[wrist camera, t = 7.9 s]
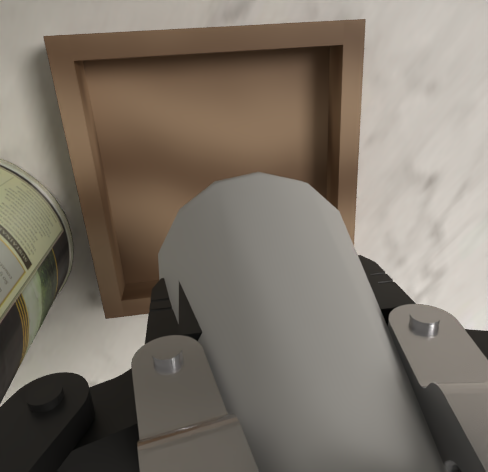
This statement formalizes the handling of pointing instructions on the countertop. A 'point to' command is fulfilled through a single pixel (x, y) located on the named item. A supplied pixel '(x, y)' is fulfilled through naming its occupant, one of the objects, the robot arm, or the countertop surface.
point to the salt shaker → (294, 330)
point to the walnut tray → (200, 128)
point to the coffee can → (28, 263)
